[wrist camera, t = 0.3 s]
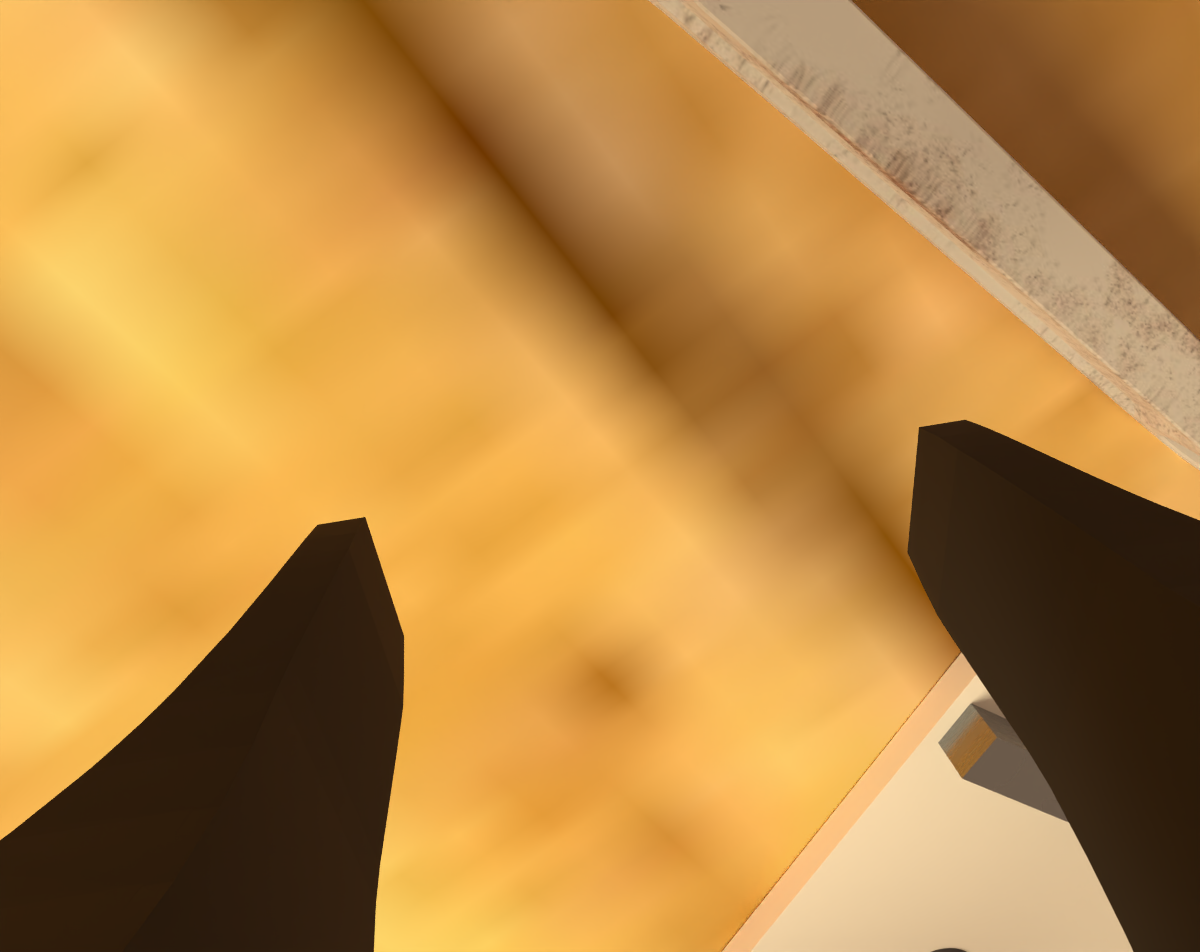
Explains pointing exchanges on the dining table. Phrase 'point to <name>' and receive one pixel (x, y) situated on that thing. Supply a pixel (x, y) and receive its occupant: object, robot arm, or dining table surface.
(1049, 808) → the bar
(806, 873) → the hole plate
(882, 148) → the wrench
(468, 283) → the dining table surface
